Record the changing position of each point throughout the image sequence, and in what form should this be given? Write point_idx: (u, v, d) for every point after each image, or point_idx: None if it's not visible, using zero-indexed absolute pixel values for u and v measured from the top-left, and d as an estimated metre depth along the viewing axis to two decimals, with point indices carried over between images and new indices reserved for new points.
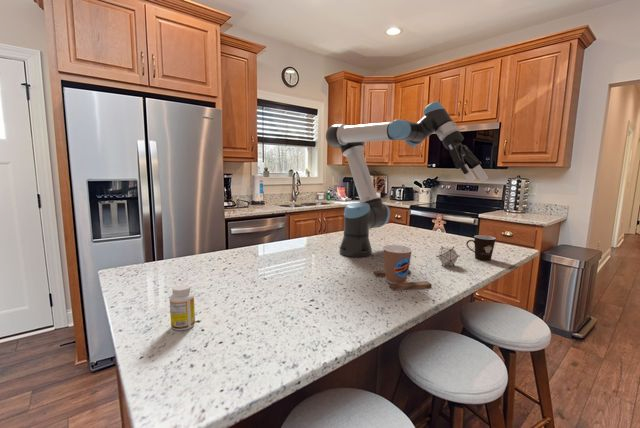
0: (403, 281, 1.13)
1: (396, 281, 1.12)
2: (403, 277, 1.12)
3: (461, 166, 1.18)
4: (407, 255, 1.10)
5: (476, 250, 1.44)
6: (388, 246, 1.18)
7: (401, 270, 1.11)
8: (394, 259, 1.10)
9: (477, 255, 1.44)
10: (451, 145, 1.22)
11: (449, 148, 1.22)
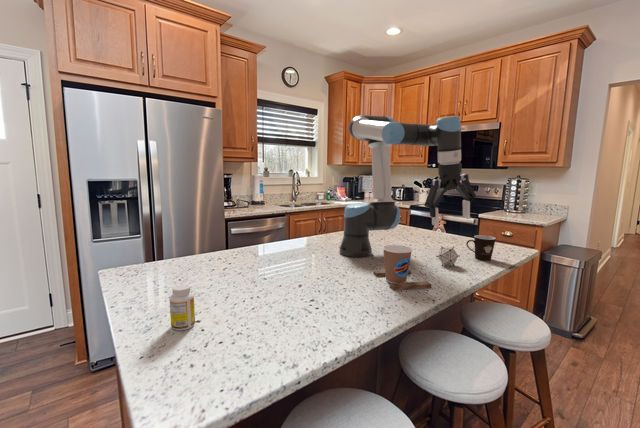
0: (403, 281, 1.13)
1: (396, 281, 1.12)
2: (403, 277, 1.12)
3: (430, 208, 1.12)
4: (407, 255, 1.10)
5: (476, 250, 1.44)
6: (388, 246, 1.18)
7: (401, 270, 1.11)
8: (394, 259, 1.10)
9: (477, 255, 1.44)
10: (434, 182, 1.10)
11: (432, 183, 1.11)
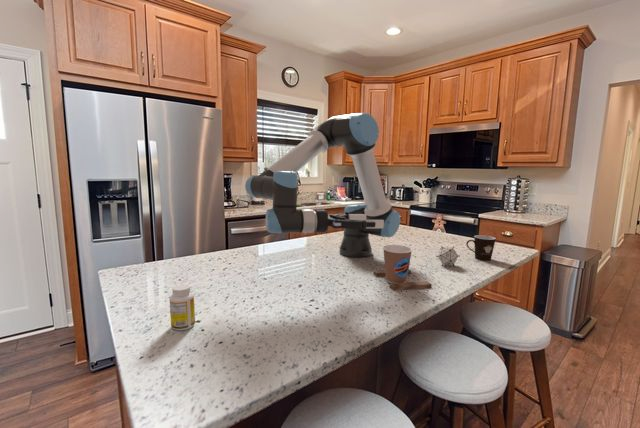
0: (403, 281, 1.13)
1: (396, 281, 1.12)
2: (403, 277, 1.12)
3: None
4: (407, 255, 1.10)
5: (476, 250, 1.44)
6: (388, 246, 1.18)
7: (401, 270, 1.11)
8: (394, 259, 1.10)
9: (477, 255, 1.44)
10: None
11: None
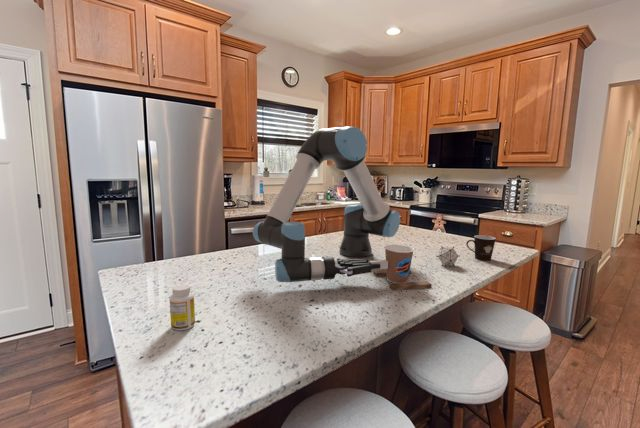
0: (405, 280, 1.13)
1: (397, 281, 1.12)
2: (404, 277, 1.12)
3: None
4: (409, 255, 1.10)
5: (476, 250, 1.44)
6: (390, 246, 1.18)
7: (403, 269, 1.11)
8: (396, 258, 1.10)
9: (477, 255, 1.44)
10: None
11: None
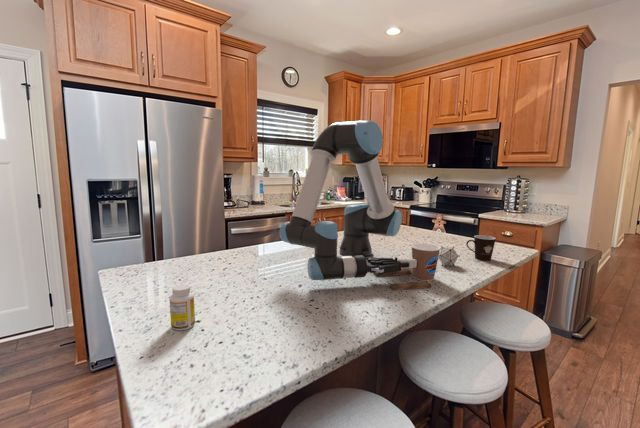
0: (432, 278, 1.16)
1: (426, 278, 1.15)
2: (433, 274, 1.15)
3: None
4: (437, 253, 1.14)
5: (476, 250, 1.44)
6: (414, 245, 1.20)
7: (432, 267, 1.14)
8: (425, 257, 1.13)
9: (477, 255, 1.44)
10: None
11: None
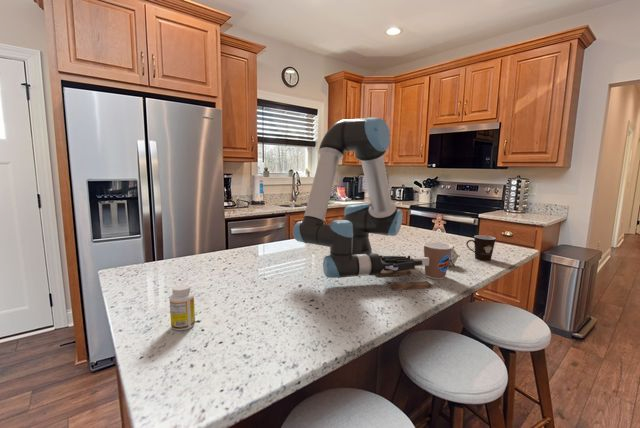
0: (444, 276, 1.18)
1: (438, 276, 1.17)
2: (444, 272, 1.18)
3: None
4: (449, 251, 1.16)
5: (476, 250, 1.44)
6: (426, 243, 1.23)
7: (444, 265, 1.16)
8: (438, 255, 1.15)
9: (477, 255, 1.44)
10: None
11: None
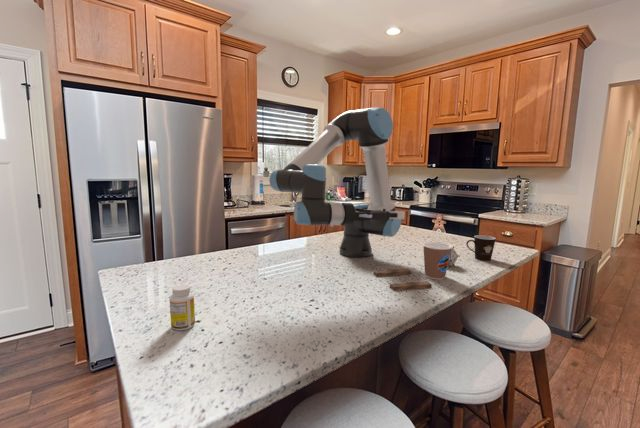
0: (444, 276, 1.18)
1: (438, 276, 1.17)
2: (444, 272, 1.18)
3: None
4: (449, 251, 1.16)
5: (476, 250, 1.44)
6: (425, 243, 1.23)
7: (444, 265, 1.16)
8: (438, 255, 1.15)
9: (477, 255, 1.44)
10: None
11: None
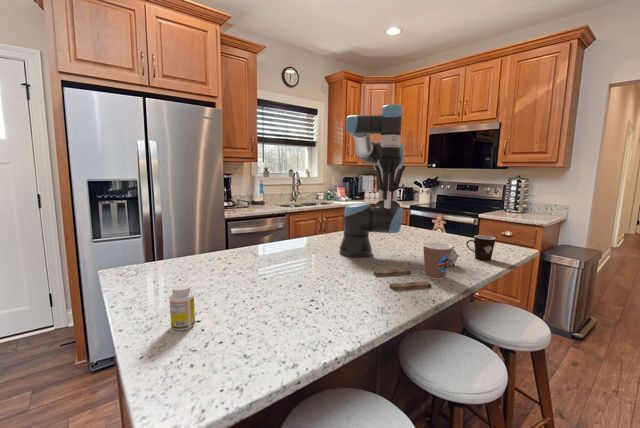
0: (444, 276, 1.18)
1: (438, 276, 1.17)
2: (444, 272, 1.18)
3: (383, 191, 1.25)
4: (449, 251, 1.16)
5: (476, 250, 1.44)
6: (425, 243, 1.23)
7: (444, 265, 1.16)
8: (438, 255, 1.15)
9: (477, 255, 1.44)
10: (375, 168, 1.22)
11: (374, 169, 1.24)
